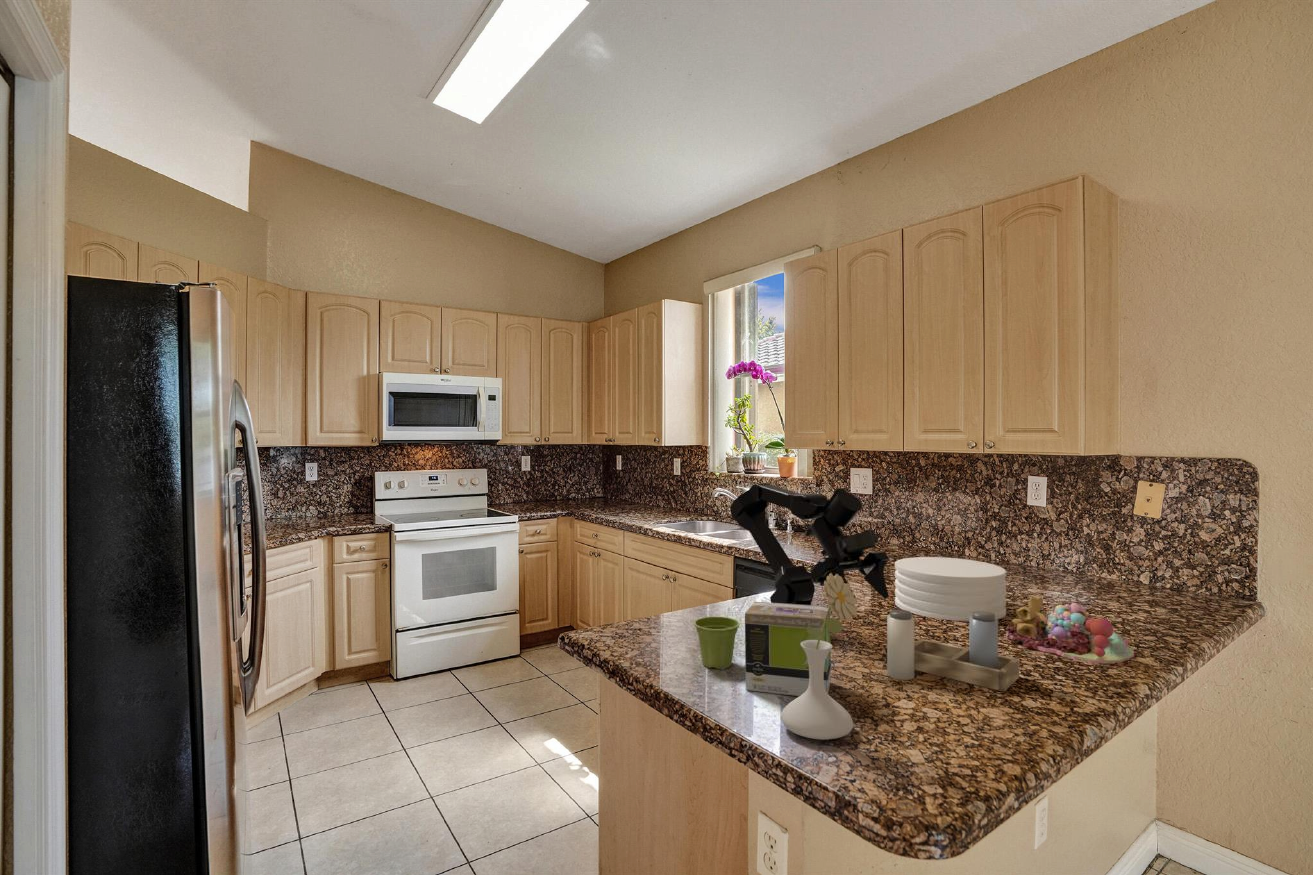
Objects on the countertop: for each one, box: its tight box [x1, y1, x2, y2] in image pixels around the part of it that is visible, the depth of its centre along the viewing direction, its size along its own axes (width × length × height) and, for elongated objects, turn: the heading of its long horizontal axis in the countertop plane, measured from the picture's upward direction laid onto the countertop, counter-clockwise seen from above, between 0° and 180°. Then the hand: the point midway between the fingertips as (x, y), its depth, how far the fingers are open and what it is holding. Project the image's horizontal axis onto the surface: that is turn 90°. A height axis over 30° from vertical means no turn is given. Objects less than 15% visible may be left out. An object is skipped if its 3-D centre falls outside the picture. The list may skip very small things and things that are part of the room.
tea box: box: [744, 601, 832, 697], centre depth 122 cm, size 15×10×15 cm
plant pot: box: [693, 616, 740, 670], centre depth 134 cm, size 9×9×9 cm
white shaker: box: [886, 608, 915, 681], centre depth 127 cm, size 5×5×12 cm
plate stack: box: [894, 556, 1007, 622], centre depth 179 cm, size 28×28×12 cm
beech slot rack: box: [914, 638, 1020, 693], centre depth 129 cm, size 19×10×4 cm, turn 46°
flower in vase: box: [779, 573, 858, 740], centre depth 104 cm, size 13×11×25 cm
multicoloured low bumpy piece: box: [1005, 595, 1135, 665], centre depth 147 cm, size 25×24×9 cm
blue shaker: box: [968, 611, 999, 670], centre depth 126 cm, size 5×5×12 cm
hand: (871, 600), depth 134 cm, fingers open, 9 cm apart
